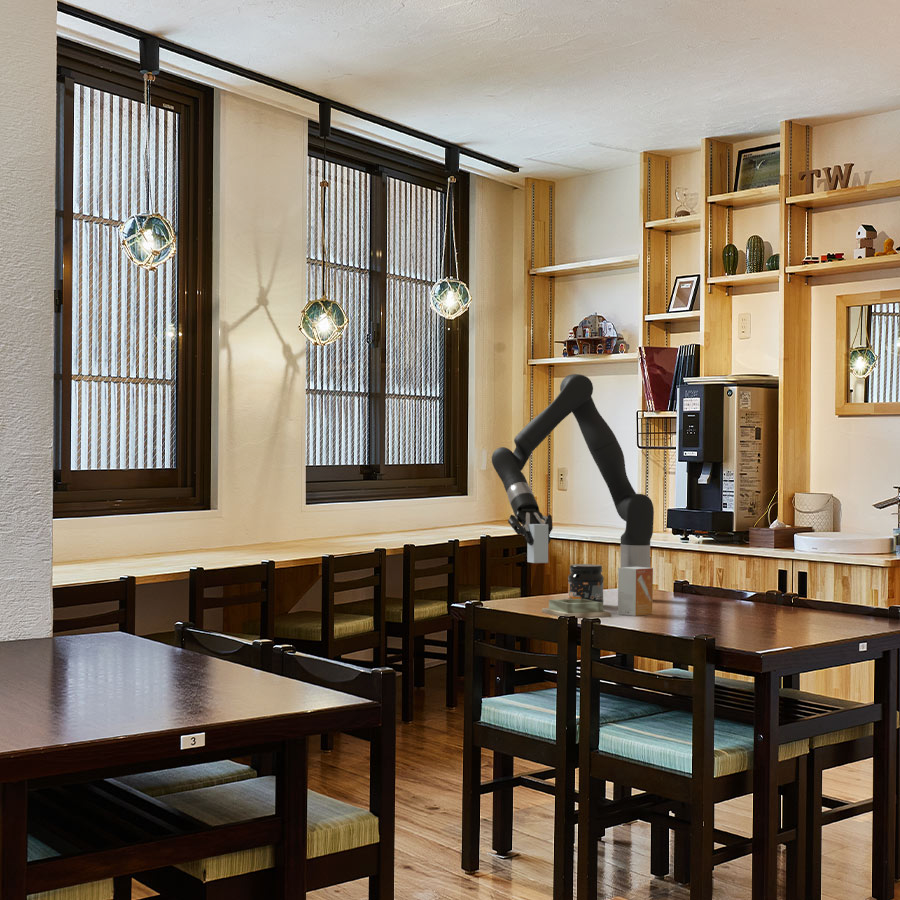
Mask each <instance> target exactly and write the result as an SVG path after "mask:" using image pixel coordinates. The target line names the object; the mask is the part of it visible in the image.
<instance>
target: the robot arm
mask: <svg viewBox="0 0 900 900" xmlns="http://www.w3.org/2000/svg"><path fill="white" fill-rule="evenodd" d="M559 388H560V389H559V390H560V392H559V394H558V395H557V396H556V397H555V399H554V400H553V401H552V402H551V403H550V404H549V405H548V406H547V407H546V408H545V409H544V410H542V411H541V412H540V413H539V414H537V415H536V416H535V417H533V419H531V420H530V421H529V422H528V423H527V424H526V425H525V426H524V427H523V429H521V430H520V432H519V433H518V434H517V435H515V437H514V441H513V442H514V444H515V449H514V451H512V450H511V449H510V448H508V447H503V446H502V447H498V448H496V449H495V450H494V451H493V453H492V455H491V463H492V467H493V468H494V470H495V473H496V474H497V476H498V477H499V479H500V480H501V481H502V484H503V487H504V490H505V492H506V495H507V498H508V502H509V505H510V507H511V510H512V513H513V514H514V515H513V514H510V516H509V518H508V520H507V522H508V524H509V525H510V527H512V529H513V531H514V532H515V533H516V534H517V535H518V536H523V537H524V539H525V541H526V544H527V543H528V544H529V545H533V542H534V539H533V537H532V534H531V532H530V531H529V526H528V524H547V525H548V545H549V544H550V542H551V536H550V535H551V533H552V530H553V516H552V515H551V514H548V515H543V513H542V512H541V511H540V507H539V505H538V502H537V500H536V497H535V495H534V493H533V490H532V488H531V487H530V486H529V483H528V481H527V479H526V476H525V474H524V473H523V472H522V471H523V469H524V467H525V466H526V464H527V463H528V460H530V457H531V455H532V453H533V452H534V451H535V449H537V448H538V446H540V445H541V443H543V442H544V440H546V438H547V437H548V436H549V435H550V434H551V433H552V432H553V431H554V430H555V428H557V427H558V425H559V424H560V423H562V421H564V419H566V418H567V417H568V416H569V415H570V414H573V416H574V418H575V420H576V422H577V424H578V426H579V427H578V428H579V429H580V432H581V434H582V437H583V439H584V441H585V444H586V445H587V446H586V447H587V448H588V451H589V452H590V455H591V456H592V459H593V461H594V464H596V466H597V469H598V471H599V473H600V474H601V476H602V478H603V480H604V482H605V484H606V486H607V489H608V491H609V494H610V496H611V499H612V502H613V505H614V508H615V509H616V513H617V514H618V516H619V517H620V519H622V520H623V521H625V522H626V523H625V530H624V532H623V533H622V534H621V536H620V557H619V559H620V563H619V564H620V565H619V566H620V567H619V568H624V567H647V568H651V540H652V537H653V533H654V521H655V520H654V518H655V517H654V514H655V511H654V503H653V501H652V499H651V498H650V497H649V496H648V495H646V494H642V493H637V492H636V491H635V489H634V488H633V486H632V484H631V482H630V480H629V478H628V475H627V470H626V461H625V456H624V452H623V449H622V447H621V444H620V443H619V442H618V439H617V437H616V435H615V433H614V431H613V430H612V429H611V427H610V426H609V424H608V423H607V421H606V420H605V419H604V418H603V416H602V415H601V413H600V411H598V408H597V407H596V404H595V402H594V400H593V397H592V395H593V392H594V386H593V382H592V381H591V379H590V378H589V377H588V376H586V375H583V374H580V373H579V374H577V373H574V374H573V373H572V374H568V375H566V376H565V377H564V378H563V379H562V380H561V383H560V387H559Z"/></svg>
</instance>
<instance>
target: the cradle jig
mask: <svg viewBox="0 0 900 900" xmlns="http://www.w3.org/2000/svg"><path fill="white" fill-rule="evenodd" d="M541 612H542V613H544V614H548V615H553V616H556V617H560V616H575V618H595V617H598V618H599V617H611V616H612V615H611V612H610V611H605V610H604V602H603V603H601V602H597V601H592V600H587V599H567V598H564V599H549V600H548V607H546V608H545V607H544V608H543V607H542V608H541Z"/></svg>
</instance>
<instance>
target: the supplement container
mask: <svg viewBox="0 0 900 900" xmlns="http://www.w3.org/2000/svg"><path fill="white" fill-rule="evenodd" d="M569 572H570V574H568V576H567V579H568V583H567V584H568V588H567V589H568V596H567V597H568V599H587V600H592V601H597V602H601V603H603V604H604V580H605V578H604V575H603V574H602V572H603V566H602V565H601V564H594V563H593V564H592V563H590V564H589V563H588V564H587V563H576V564H575V563H574V564H570V565H569Z"/></svg>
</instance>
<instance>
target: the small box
mask: <svg viewBox="0 0 900 900" xmlns="http://www.w3.org/2000/svg"><path fill="white" fill-rule="evenodd" d="M617 577H618V579H617V586H618V587H617V614H618V615H622V616H634V617H636V616H645V615H647V616H648V615H652V614H653V598H654V596H653V595H654V594H653V591H654V589H653V586H654V568H653V567H650V568H647V567H624V568H620V567H618V573H617Z"/></svg>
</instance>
